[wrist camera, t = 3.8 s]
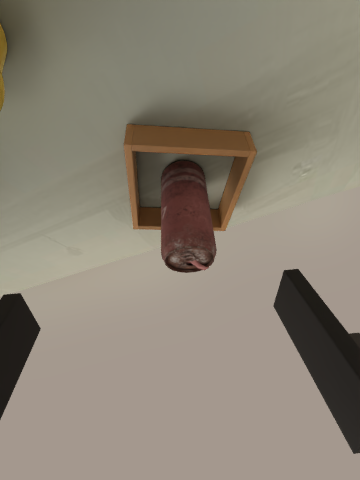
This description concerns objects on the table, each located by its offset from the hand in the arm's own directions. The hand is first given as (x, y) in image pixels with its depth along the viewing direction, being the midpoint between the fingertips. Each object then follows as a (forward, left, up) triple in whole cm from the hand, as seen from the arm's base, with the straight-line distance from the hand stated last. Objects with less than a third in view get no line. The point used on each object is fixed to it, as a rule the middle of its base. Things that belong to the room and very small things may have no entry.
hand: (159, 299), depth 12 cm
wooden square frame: (+4, -10, -22) cm, 25 cm away
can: (+4, -10, -22) cm, 25 cm away
